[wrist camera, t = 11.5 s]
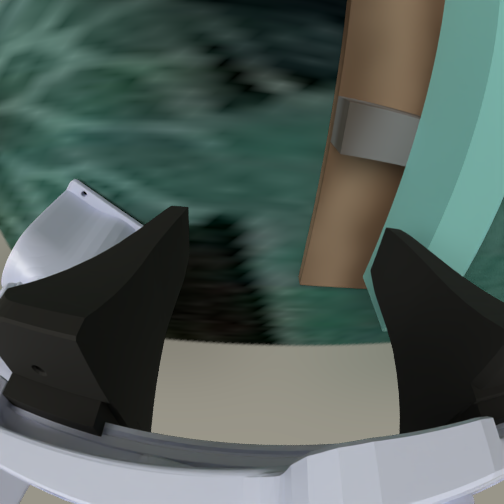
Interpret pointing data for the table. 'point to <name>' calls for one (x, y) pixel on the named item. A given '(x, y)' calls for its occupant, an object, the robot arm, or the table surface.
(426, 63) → the balance board
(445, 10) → the batten
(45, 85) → the table surface
